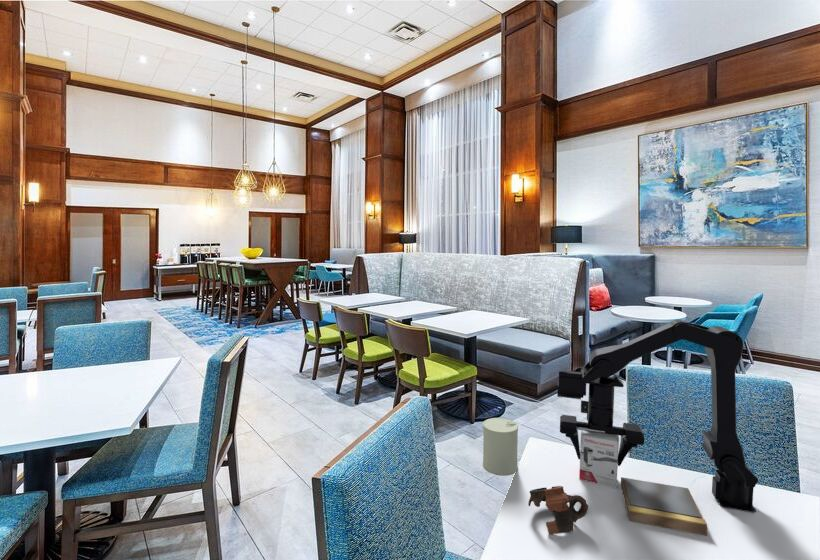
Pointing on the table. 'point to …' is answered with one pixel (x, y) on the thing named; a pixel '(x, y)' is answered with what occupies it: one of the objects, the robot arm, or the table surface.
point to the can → (500, 446)
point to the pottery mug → (559, 508)
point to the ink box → (599, 458)
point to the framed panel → (662, 506)
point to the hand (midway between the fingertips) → (598, 461)
